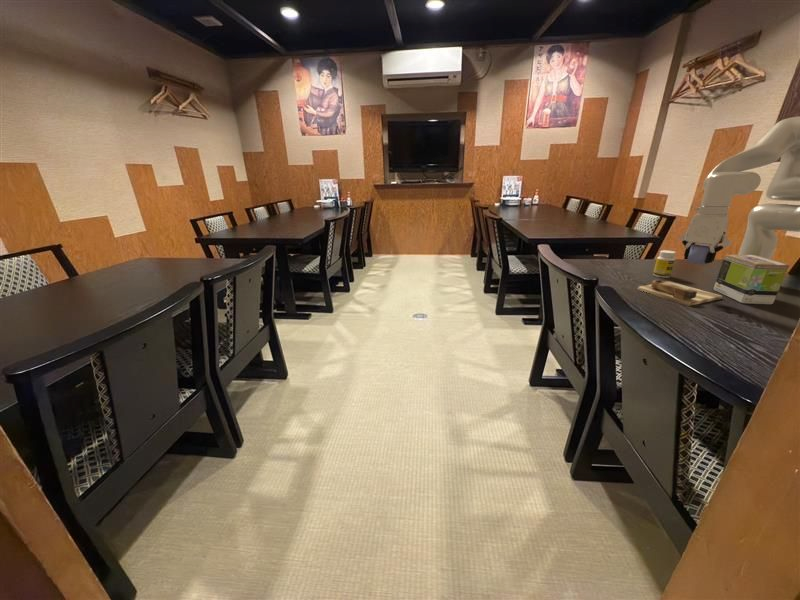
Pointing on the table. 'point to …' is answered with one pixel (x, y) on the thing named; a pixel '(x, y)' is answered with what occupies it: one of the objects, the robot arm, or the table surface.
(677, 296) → the board
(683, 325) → the table surface
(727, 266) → the tea box
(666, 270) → the supplement bottle
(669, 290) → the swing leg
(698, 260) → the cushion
